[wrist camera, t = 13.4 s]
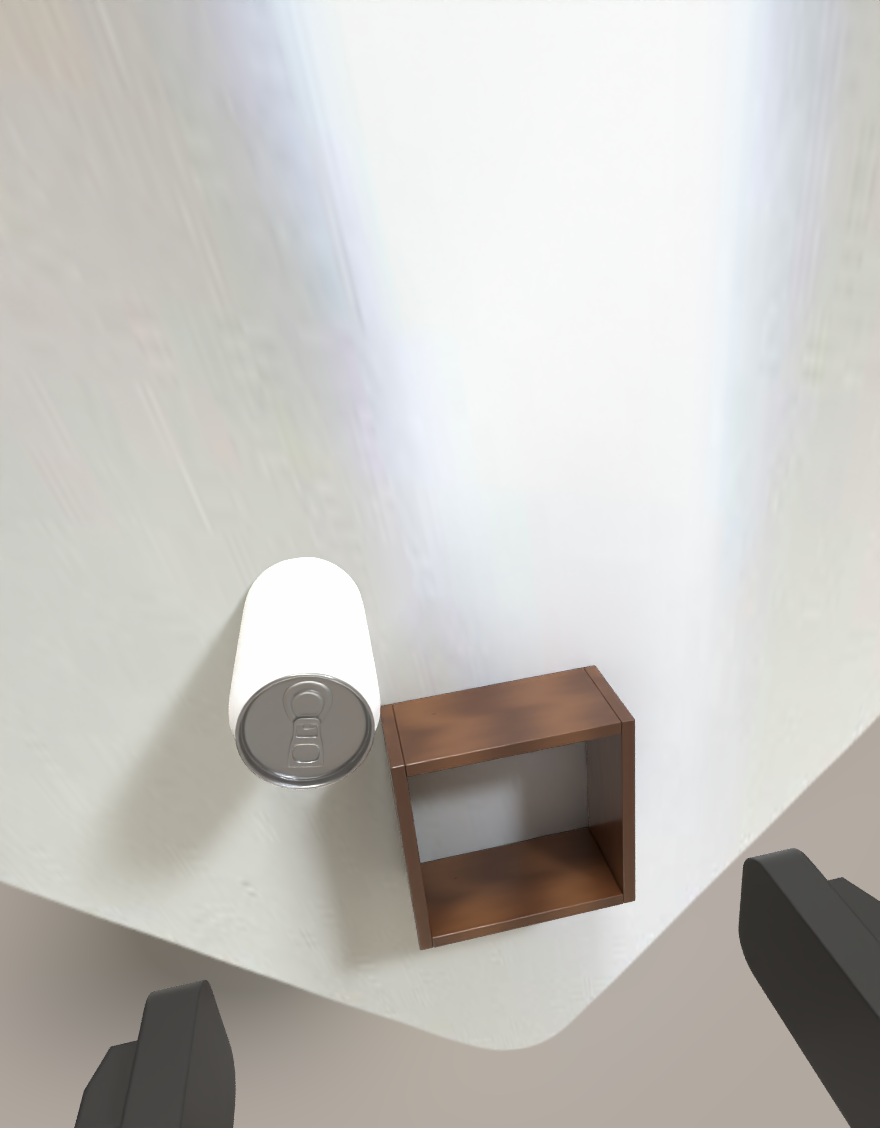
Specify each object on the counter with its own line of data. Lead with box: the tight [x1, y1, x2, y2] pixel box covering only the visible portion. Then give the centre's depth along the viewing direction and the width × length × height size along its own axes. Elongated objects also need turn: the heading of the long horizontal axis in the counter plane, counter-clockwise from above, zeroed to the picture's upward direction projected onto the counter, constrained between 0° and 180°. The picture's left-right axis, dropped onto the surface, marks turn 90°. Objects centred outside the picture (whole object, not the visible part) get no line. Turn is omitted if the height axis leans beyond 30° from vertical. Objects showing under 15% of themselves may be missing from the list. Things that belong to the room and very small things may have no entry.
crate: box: [380, 666, 635, 950], centre depth 45 cm, size 14×14×6 cm
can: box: [229, 558, 380, 790], centre depth 35 cm, size 6×6×12 cm
